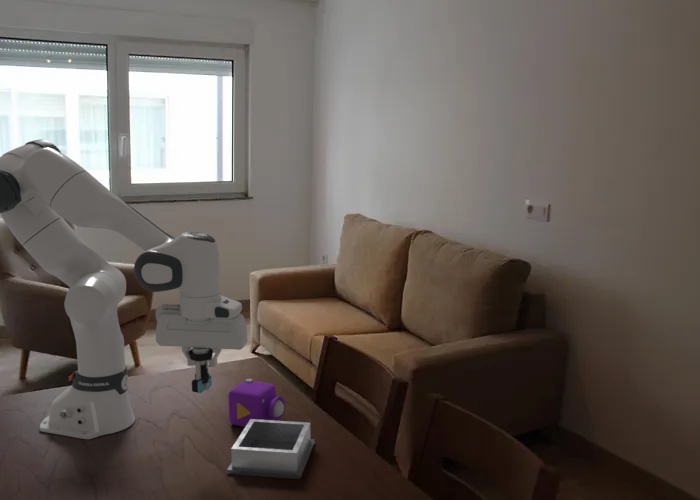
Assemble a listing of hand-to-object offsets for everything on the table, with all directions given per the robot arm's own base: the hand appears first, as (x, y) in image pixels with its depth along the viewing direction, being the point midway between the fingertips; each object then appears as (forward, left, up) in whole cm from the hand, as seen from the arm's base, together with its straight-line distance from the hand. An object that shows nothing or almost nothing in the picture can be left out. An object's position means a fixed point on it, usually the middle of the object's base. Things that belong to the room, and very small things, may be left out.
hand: (202, 365), depth 155 cm
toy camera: (+8, +18, -21) cm, 29 cm away
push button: (0, 0, -6) cm, 6 cm away
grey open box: (+16, 0, -21) cm, 26 cm away
